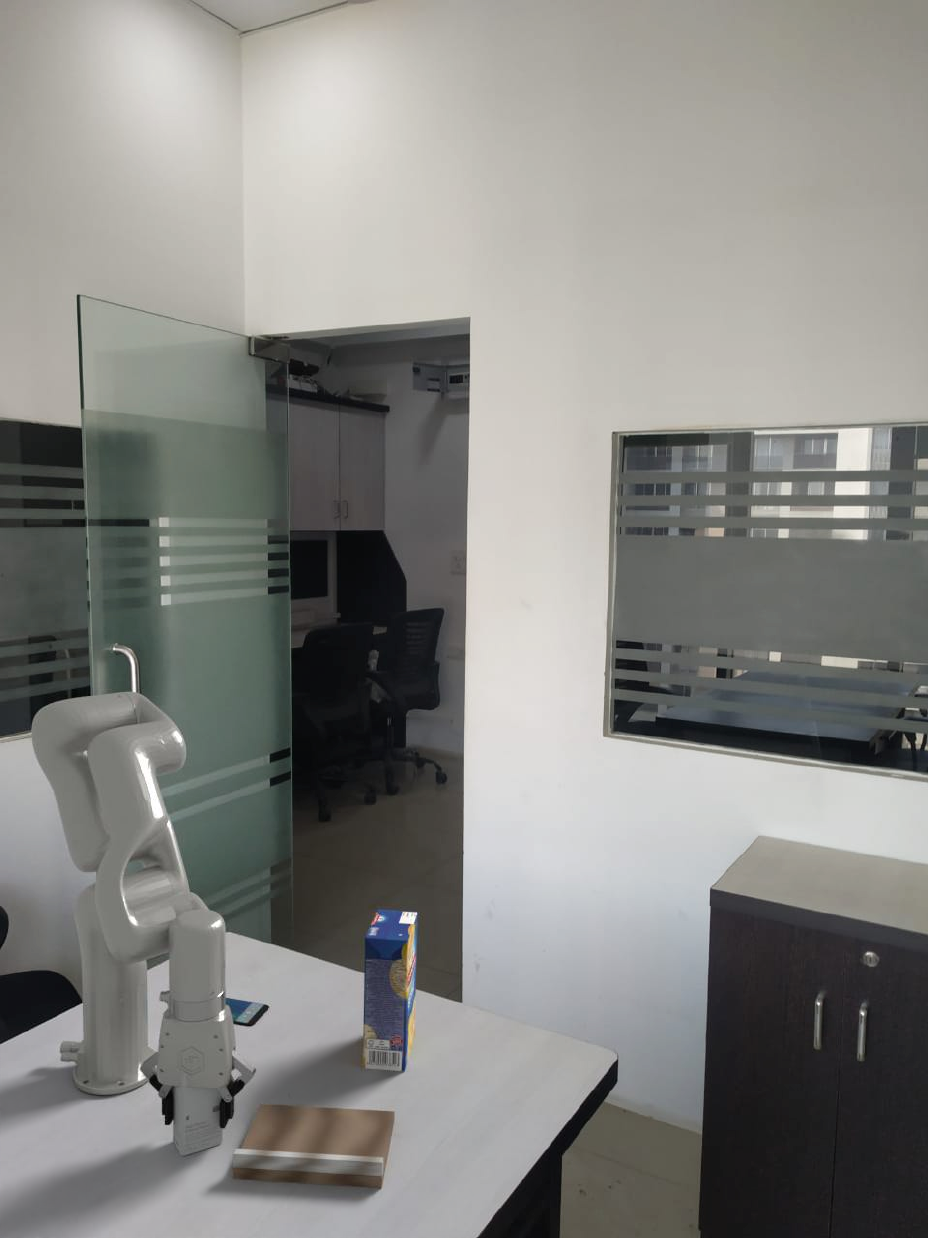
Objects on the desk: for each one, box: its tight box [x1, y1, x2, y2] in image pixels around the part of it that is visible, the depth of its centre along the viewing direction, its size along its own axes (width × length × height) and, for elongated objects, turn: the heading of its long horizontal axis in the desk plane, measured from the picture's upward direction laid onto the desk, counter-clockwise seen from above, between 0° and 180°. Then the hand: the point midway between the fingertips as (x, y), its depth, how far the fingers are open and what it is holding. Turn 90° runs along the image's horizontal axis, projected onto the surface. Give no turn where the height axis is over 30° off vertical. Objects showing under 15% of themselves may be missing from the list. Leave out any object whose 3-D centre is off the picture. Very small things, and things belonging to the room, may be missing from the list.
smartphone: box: [226, 997, 270, 1027], centre depth 170 cm, size 7×1×15 cm
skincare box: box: [172, 1073, 224, 1157], centre depth 135 cm, size 6×4×12 cm
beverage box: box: [362, 909, 418, 1072], centre depth 158 cm, size 7×11×22 cm, turn 175°
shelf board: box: [232, 1103, 395, 1189], centre depth 134 cm, size 20×14×4 cm
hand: (198, 1120), depth 135 cm, fingers closed on skincare box, 7 cm apart
